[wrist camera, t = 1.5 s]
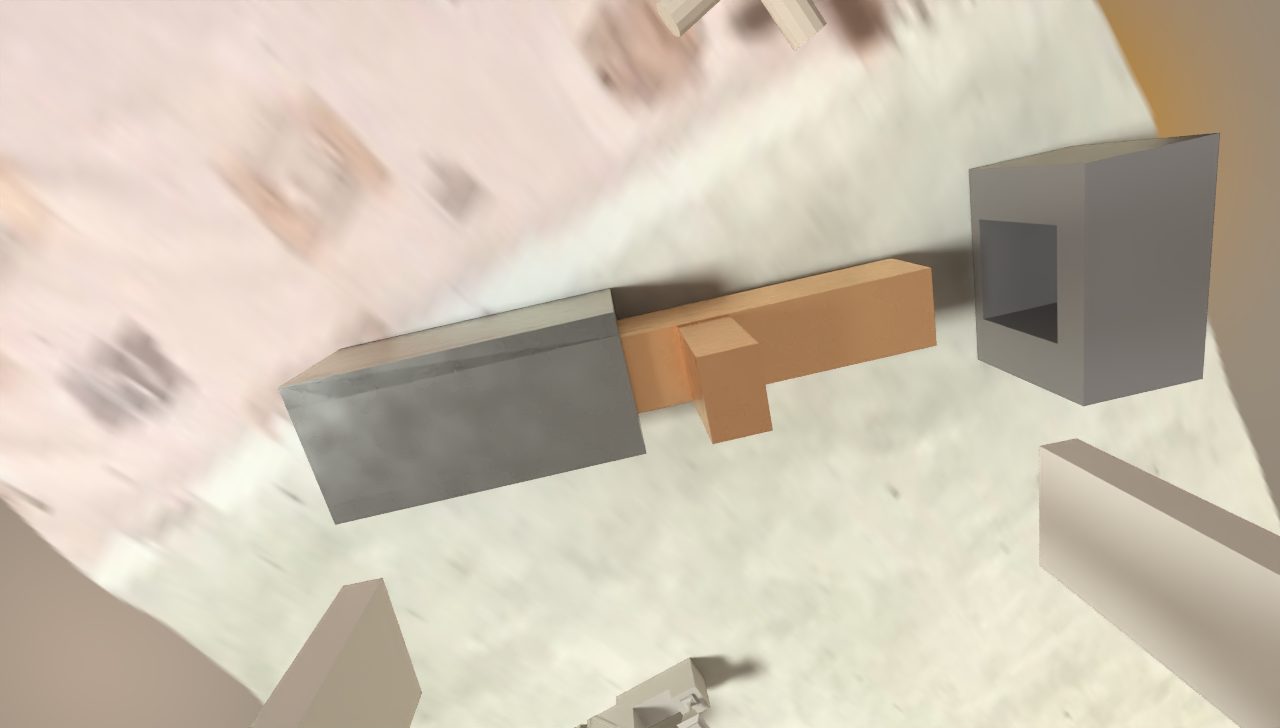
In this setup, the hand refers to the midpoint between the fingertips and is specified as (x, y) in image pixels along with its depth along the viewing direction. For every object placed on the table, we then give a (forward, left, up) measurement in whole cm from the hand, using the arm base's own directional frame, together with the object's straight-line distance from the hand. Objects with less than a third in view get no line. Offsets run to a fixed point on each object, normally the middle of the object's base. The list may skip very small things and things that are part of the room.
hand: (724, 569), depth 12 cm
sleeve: (+2, -10, -27) cm, 28 cm away
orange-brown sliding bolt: (+2, +1, -25) cm, 25 cm away
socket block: (+2, +25, -27) cm, 37 cm away
